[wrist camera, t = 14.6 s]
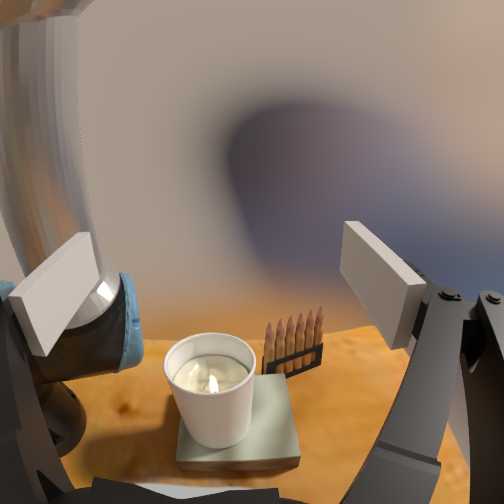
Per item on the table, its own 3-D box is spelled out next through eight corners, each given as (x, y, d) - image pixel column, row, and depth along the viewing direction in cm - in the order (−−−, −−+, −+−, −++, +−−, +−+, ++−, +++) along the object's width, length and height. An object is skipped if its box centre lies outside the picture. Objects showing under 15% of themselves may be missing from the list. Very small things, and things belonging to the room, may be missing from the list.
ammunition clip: (265, 386, 46) (266, 328, 41) (260, 378, 48) (261, 320, 43) (321, 364, 50) (329, 307, 45) (315, 358, 52) (322, 302, 47)
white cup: (257, 398, 40) (257, 333, 35) (255, 456, 31) (254, 397, 26) (188, 394, 40) (174, 330, 35) (174, 449, 31) (152, 389, 26)
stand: (180, 470, 31) (175, 459, 30) (189, 390, 45) (185, 376, 44) (298, 466, 32) (300, 455, 31) (283, 387, 46) (284, 373, 44)
